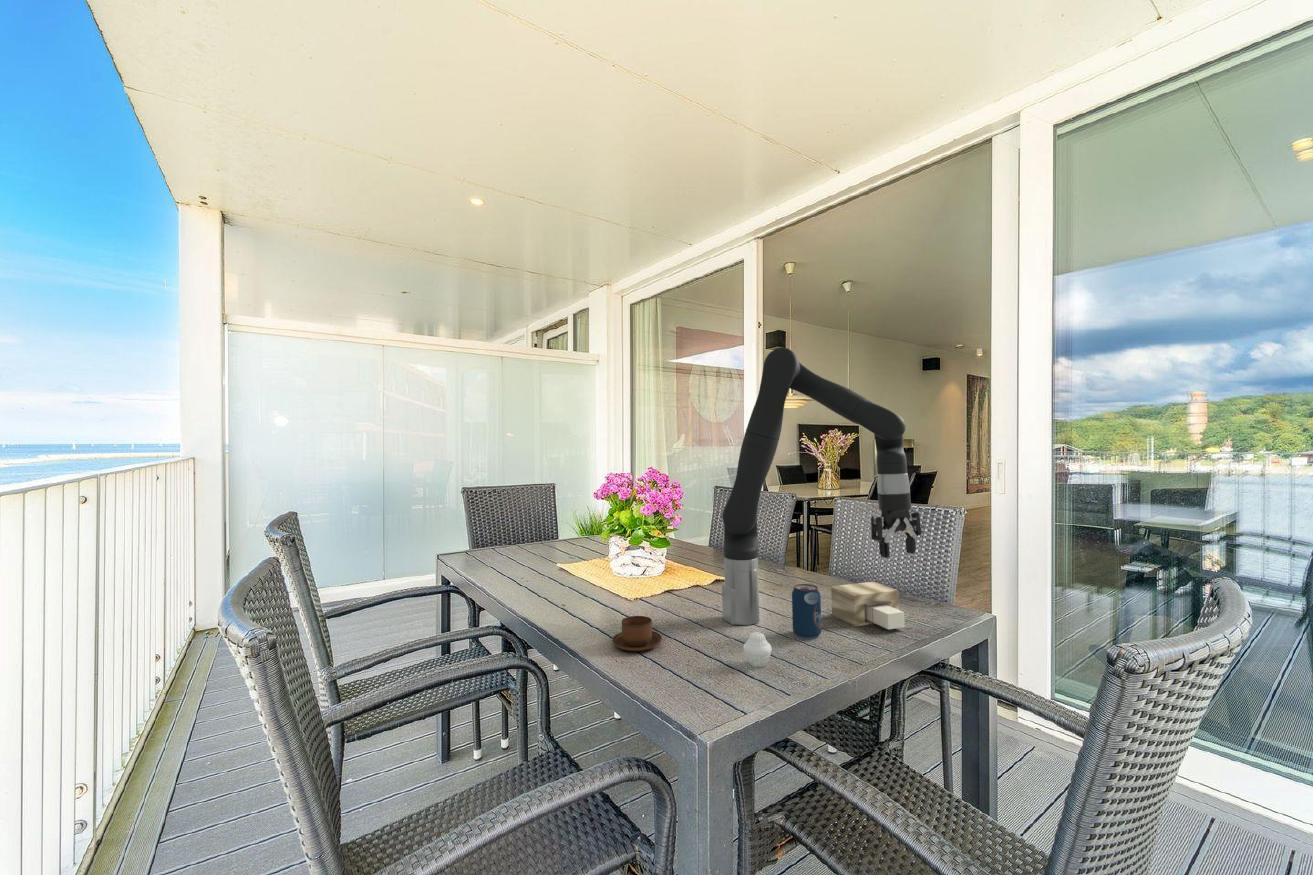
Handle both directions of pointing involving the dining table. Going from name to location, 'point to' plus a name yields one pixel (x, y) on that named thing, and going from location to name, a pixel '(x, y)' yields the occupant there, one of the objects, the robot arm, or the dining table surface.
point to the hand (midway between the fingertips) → (898, 555)
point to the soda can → (806, 611)
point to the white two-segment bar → (885, 616)
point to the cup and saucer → (637, 634)
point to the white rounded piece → (757, 649)
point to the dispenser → (861, 600)
